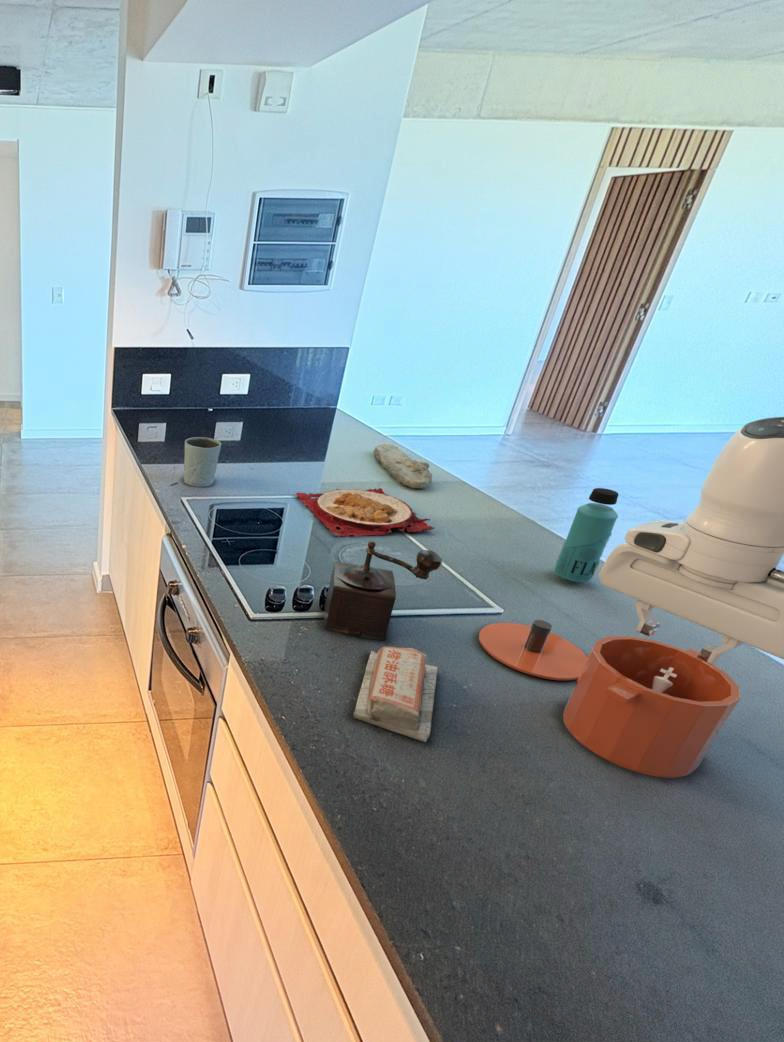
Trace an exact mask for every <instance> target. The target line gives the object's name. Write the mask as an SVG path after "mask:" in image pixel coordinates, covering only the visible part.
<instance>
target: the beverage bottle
mask: <svg viewBox="0 0 784 1042" xmlns="http://www.w3.org/2000/svg"><path fill="white" fill-rule="evenodd" d="M618 498H619V492H617V491H616V490H613V489H610V488H602V487H595V488H593V489H592V491H591V493H590V495H589V497H588V500H589V501H591V502H588V503H585V504H583V505H580V506H578V507H577V509H576V512H575V515H574V518H573V520H572V523H571V526H570V528H569V531H568V534H567V536H566V539H565V540H564V542H563V544H562V547H561V549H560V552H559V555H558V557H557V560H556V561H555V565H554V573H555V574H556V575H557V576H559V577H560V578H562V579H565V580H567V581H572V582H576V583H577V582H578V583H587V582H590V581H591V579H593V577H594V576H595V573H596V572H597V570H598V566H599V565H600V563H601V562H600V561H601V560H602V559H601V558H603V554H604V550H605V548H606V547H607V545H608V543H609V540H610V538H611V536H612V533H613V532H612V531H613V530H614V527H615V524H616V522H617V520H618V517H619V515H618V513H617V512H616V510H615V509H614V508H613V507H611V506H613V505H616V504H617V502H618Z"/></svg>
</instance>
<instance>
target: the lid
mask: <svg viewBox="0 0 784 1042" xmlns="http://www.w3.org/2000/svg"><path fill="white" fill-rule="evenodd" d="M552 629H553V624H551V623H550V622H548V621H545V620H542V619H535V620H533V622H532V624H531V625H528V624H523V623H515V622H495V623H490V624H487V625H485V626H484V627H482V629H481V630H480V631H479V633H478V641H479V644H480V646H481V647H482V648H483V649H484V651H485V652H486V653H488V654H489V655H490V656H492V658H494V659H495V660H496V661H498V662H500V663H502V664H503V665H505V666H507V667H509V668H511V669H514V670H516V671H518V672H521V673H524V674H527V675H529V676H532V677H537V678H541V679H546V680H553V681H576V680H578V678H579V676H580V674H581V672H582V669H583V667H584V665H585V663H586V661H587V659H588V656H587V655H586V653H585V652H584V651H583V650H581V649H580V648H579V647H578V646H576V644H574V643H573V642H571V641H569V640H568V639H566V638H563V637H562V636H559V635H558V634H555V633H553V632H551V631H552Z"/></svg>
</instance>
